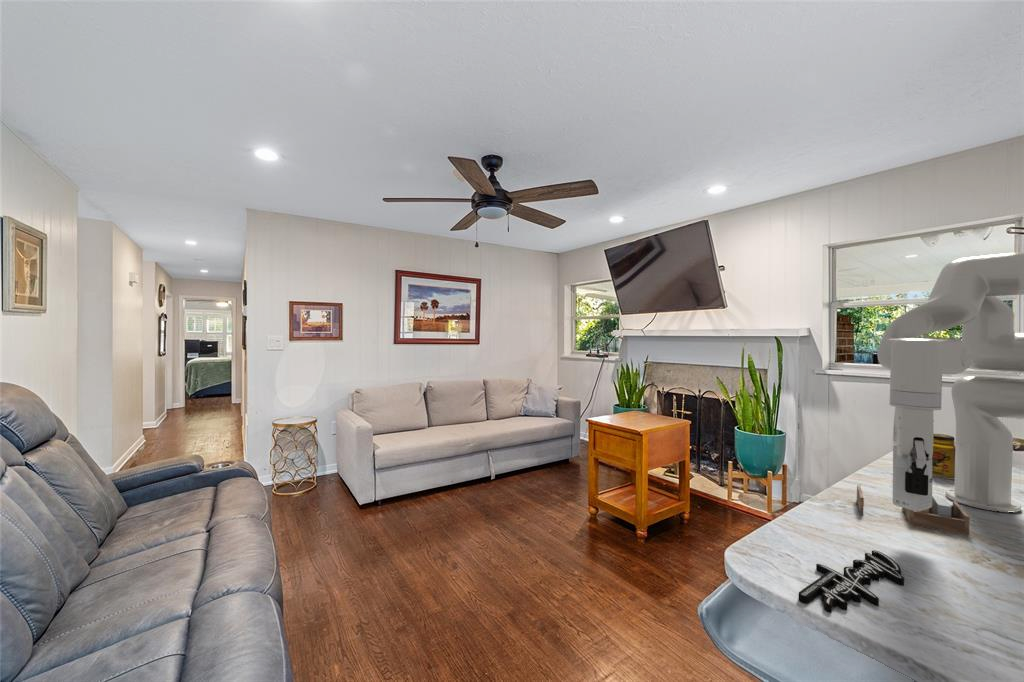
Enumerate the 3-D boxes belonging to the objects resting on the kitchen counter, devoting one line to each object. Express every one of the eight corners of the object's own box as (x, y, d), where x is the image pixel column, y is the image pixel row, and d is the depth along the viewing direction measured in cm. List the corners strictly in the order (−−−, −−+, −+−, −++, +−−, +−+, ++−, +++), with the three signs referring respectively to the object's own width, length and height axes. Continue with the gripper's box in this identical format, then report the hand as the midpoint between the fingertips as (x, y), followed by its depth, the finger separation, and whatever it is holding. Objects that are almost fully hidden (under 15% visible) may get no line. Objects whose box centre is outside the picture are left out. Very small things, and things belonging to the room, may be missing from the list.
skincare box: (919, 512, 82) (920, 450, 82) (890, 504, 86) (891, 445, 86) (933, 507, 84) (935, 447, 84) (904, 499, 88) (906, 441, 88)
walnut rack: (856, 500, 107) (857, 485, 107) (956, 518, 96) (956, 501, 96) (860, 514, 98) (860, 497, 98) (968, 536, 88) (969, 517, 88)
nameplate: (850, 541, 83) (918, 565, 75) (850, 549, 84) (918, 573, 75) (781, 586, 69) (857, 621, 60) (781, 595, 69) (857, 632, 60)
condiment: (926, 475, 126) (926, 435, 126) (923, 468, 132) (924, 430, 132) (961, 481, 121) (962, 439, 121) (956, 473, 128) (957, 434, 127)
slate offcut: (931, 517, 97) (932, 496, 97) (943, 519, 96) (944, 498, 96) (937, 527, 92) (938, 504, 92) (950, 529, 91) (951, 506, 91)
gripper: (884, 393, 94) (882, 472, 94) (896, 403, 80) (894, 496, 80) (931, 396, 90) (928, 479, 90) (952, 408, 75) (949, 506, 76)
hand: (912, 487), depth 85 cm, fingers closed on skincare box, 7 cm apart
